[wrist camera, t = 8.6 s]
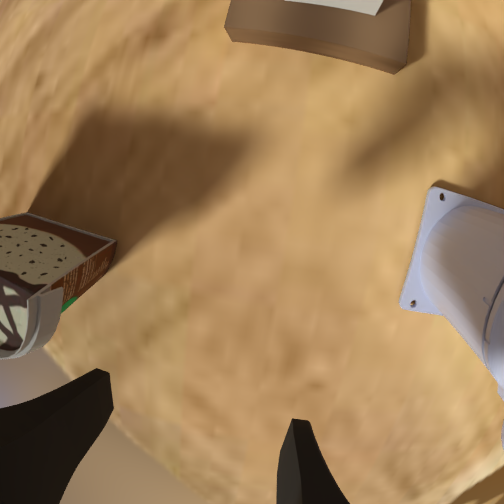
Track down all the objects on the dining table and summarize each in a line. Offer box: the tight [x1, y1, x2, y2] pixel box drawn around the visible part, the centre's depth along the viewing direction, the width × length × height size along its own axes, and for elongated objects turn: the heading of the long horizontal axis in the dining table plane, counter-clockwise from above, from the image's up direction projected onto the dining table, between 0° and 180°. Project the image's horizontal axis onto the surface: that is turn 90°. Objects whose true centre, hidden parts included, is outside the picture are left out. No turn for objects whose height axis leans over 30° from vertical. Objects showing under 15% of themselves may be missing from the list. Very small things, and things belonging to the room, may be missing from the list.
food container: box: [0, 212, 117, 359], centre depth 17 cm, size 12×6×10 cm, turn 77°
